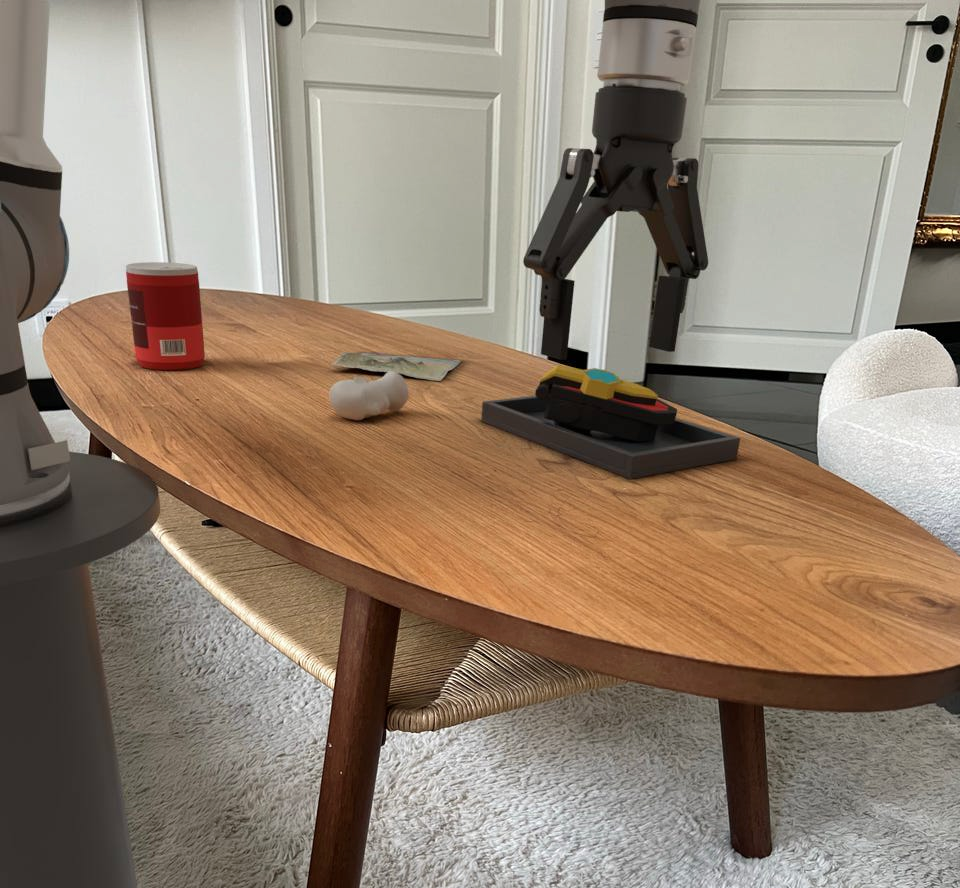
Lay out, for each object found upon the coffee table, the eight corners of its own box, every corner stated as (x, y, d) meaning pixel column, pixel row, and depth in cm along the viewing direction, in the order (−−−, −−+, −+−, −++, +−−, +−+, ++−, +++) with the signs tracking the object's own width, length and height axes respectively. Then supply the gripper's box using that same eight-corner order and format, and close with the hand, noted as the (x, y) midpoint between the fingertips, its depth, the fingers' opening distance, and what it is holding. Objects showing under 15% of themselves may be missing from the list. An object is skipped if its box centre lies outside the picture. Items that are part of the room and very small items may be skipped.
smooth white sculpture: (341, 435, 91) (321, 408, 94) (414, 427, 95) (393, 401, 98) (345, 396, 88) (324, 369, 91) (420, 389, 92) (399, 363, 95)
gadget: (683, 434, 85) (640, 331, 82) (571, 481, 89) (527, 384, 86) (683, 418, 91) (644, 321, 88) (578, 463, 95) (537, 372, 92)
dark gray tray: (481, 421, 94) (481, 401, 93) (582, 408, 101) (584, 389, 101) (630, 479, 79) (633, 456, 78) (736, 459, 86) (740, 437, 85)
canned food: (218, 363, 113) (211, 266, 108) (174, 373, 107) (164, 271, 102) (168, 355, 116) (159, 260, 111) (122, 365, 110) (110, 264, 105)
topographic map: (440, 381, 110) (441, 367, 110) (329, 368, 112) (330, 354, 111) (461, 365, 122) (462, 352, 122) (362, 353, 124) (362, 340, 123)
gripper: (555, 68, 67) (529, 368, 77) (775, 101, 81) (730, 353, 90) (493, 72, 73) (477, 352, 82) (710, 102, 86) (674, 339, 96)
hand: (609, 353), depth 86 cm, fingers open, 13 cm apart
